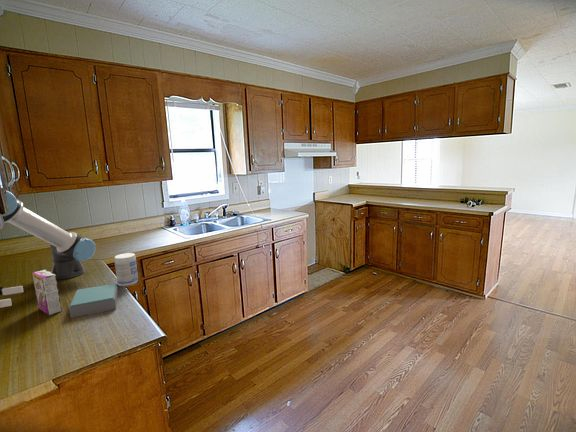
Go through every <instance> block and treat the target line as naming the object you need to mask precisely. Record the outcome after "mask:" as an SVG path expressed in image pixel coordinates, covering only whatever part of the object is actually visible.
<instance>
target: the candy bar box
mask: <svg viewBox="0 0 576 432" xmlns="http://www.w3.org/2000/svg"><path fill="white" fill-rule="evenodd" d="M32 279H33V285H34V289H35V290H34V291H35V295H36V296H35V297H36V300H37V305H38V309H39V310H41V311H42V312H43V313H44V314H46V315H48V316H52V315H55V314H57V313H61V312H62V310H63V309H62V304H61V299H60V294H59V287H58V279H56V275H55V274H53V273H51V271H49V270H47V269H41V270H37V271H33V272H32Z"/></svg>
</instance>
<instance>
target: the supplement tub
mask: <svg viewBox="0 0 576 432" xmlns="http://www.w3.org/2000/svg"><path fill="white" fill-rule="evenodd" d="M114 267H115V275H116V276H115V277H116V282H117V283H116V284H117V286H119V287H129V286H133V285H135V284H137V283H138V281H139V275H138V267H137V256H136V254H135V253H132V252H126V253H125V252H124V253H121V254H117V255H115V256H114Z"/></svg>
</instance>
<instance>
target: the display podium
mask: <svg viewBox="0 0 576 432" xmlns="http://www.w3.org/2000/svg"><path fill="white" fill-rule="evenodd" d="M118 288H119V287H118V284H117V283H110V284H106V285H105V284H104V285H100V286H99V285H98V286H93V287H87V288H80V289H77V290H76V291H75V293H74V295H73V297H72V300H71V302H70V305H69V307H68V311H69V312H68V313H69V317H70V319H72V318H77V317H81V316H82V317H83V316H86V315H92V314H96V313H103V312H107V311H111V310H112V311H113V310H116V309H117V303H118V297H119V295H118V294H119V290H118Z"/></svg>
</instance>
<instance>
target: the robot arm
mask: <svg viewBox="0 0 576 432" xmlns="http://www.w3.org/2000/svg"><path fill="white" fill-rule="evenodd" d="M5 190H6V189H5ZM6 196H7V201H8V205H9V212H8V213H7V214H6V215H5V216H3V219H4V223H3V224H5V223H9V224H10V225H13V226H15V227H16V228H19V229H21V230H22V231H24V232H26V233H29V234H30V235H32V236H34V237H36V238H38V239H39V240H40V239H41V240H42V241H43V242H46V243H48V244H49V246H50V253H51V257H52V263H53V264H52V268H51V271H50V272H51V273H53V274H55V275H56V280H68V279H71V278H76V277H78V276H81V275H83V274H84V273H85V267H84V265H83V263H82V262H83V261H84V262H85V261H88V260H90V259H91V258H92V257H93V256H94V255H95V253H96V249H97V248H96V243H95V241H93V240H92V239H90V238H88V237H83V236H81V235H80V234H79V233H76V232H74V231H70V232H69V231H66V230H65V229H63V228H61V227H59V226H58V225H57V224H55V223H53V222H51V221H49V220H47V219H46V218H44V217H42V216H40V215H38V214H37V213H35V212H33V211H32V210H30V209H28V208H26V207H25V206H24V203H23V202H22V201H21V200H20V199H19V198H16V196H15V195H14V194H13V193H12V192H11V191H9V190H6ZM81 261H82V262H81ZM23 287H24V286H23V285H18V286H11V287H4V288H3V286H0V296H9V295H15V294H21V293H24V288H23ZM12 305H13V304H12V299H11V298H5V299H0V308H5V307H11V306H12Z"/></svg>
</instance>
